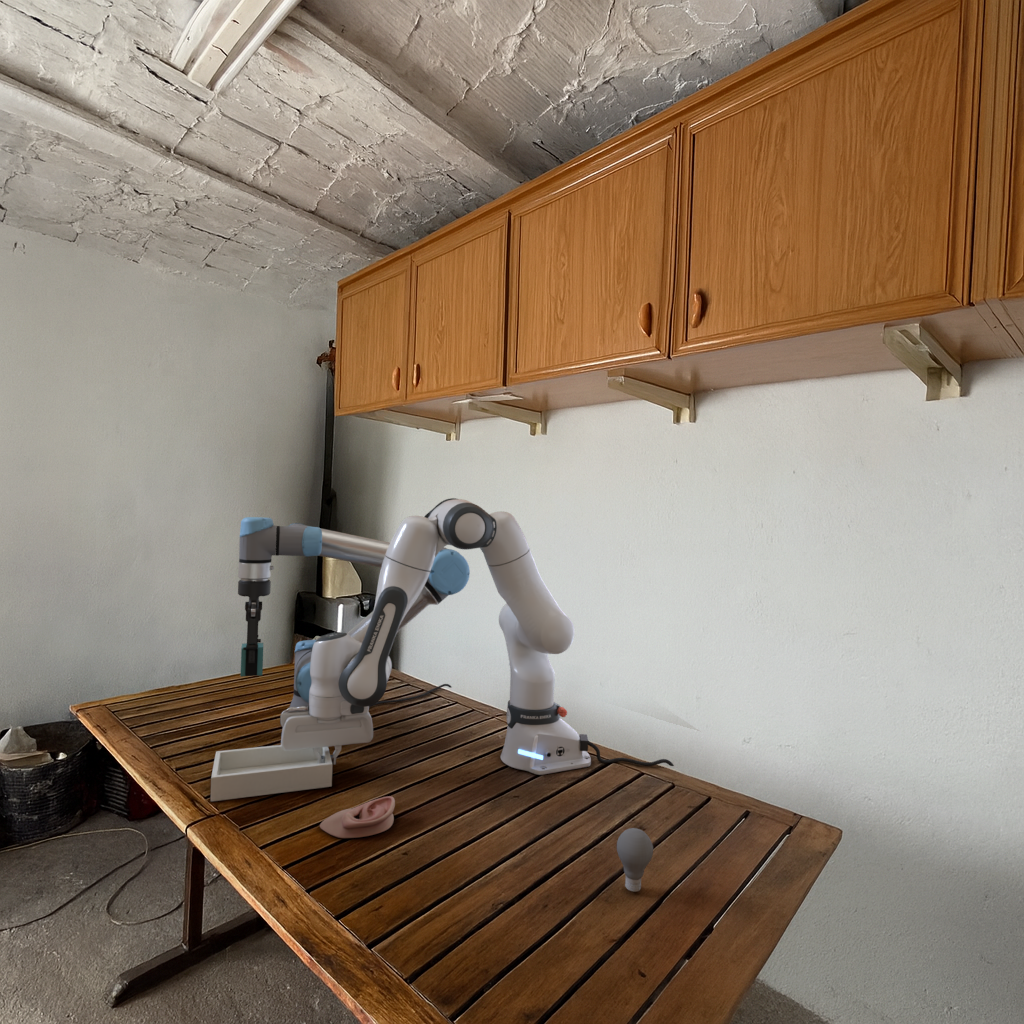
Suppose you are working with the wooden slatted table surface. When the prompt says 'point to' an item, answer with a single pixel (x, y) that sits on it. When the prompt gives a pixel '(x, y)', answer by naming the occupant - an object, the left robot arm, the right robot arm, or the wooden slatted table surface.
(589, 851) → the wooden slatted table surface
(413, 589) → the right robot arm
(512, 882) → the wooden slatted table surface
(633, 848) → the light bulb
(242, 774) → the tray
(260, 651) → the block
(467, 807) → the wooden slatted table surface
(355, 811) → the anatomical model
